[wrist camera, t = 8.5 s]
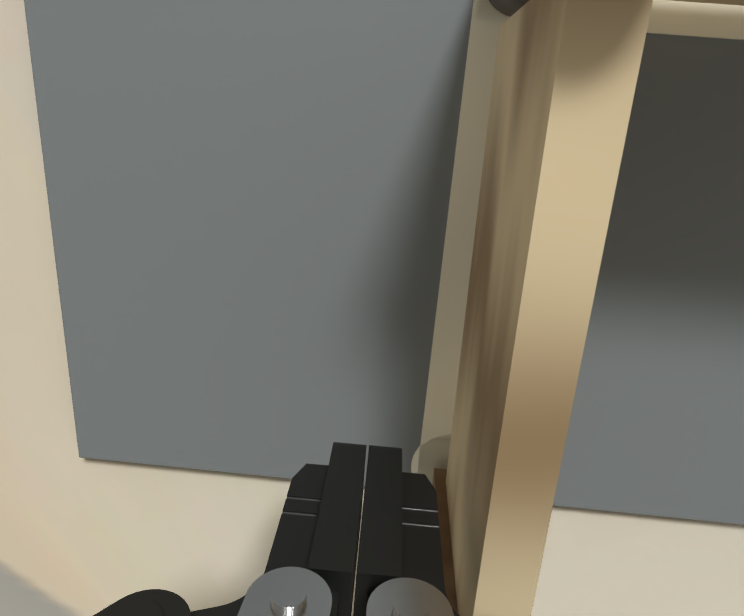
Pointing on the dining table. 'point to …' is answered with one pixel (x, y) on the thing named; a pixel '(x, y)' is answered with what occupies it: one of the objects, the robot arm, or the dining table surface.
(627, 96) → the fence gate
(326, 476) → the robot arm
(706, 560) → the dining table surface
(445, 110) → the board
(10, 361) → the dining table surface
